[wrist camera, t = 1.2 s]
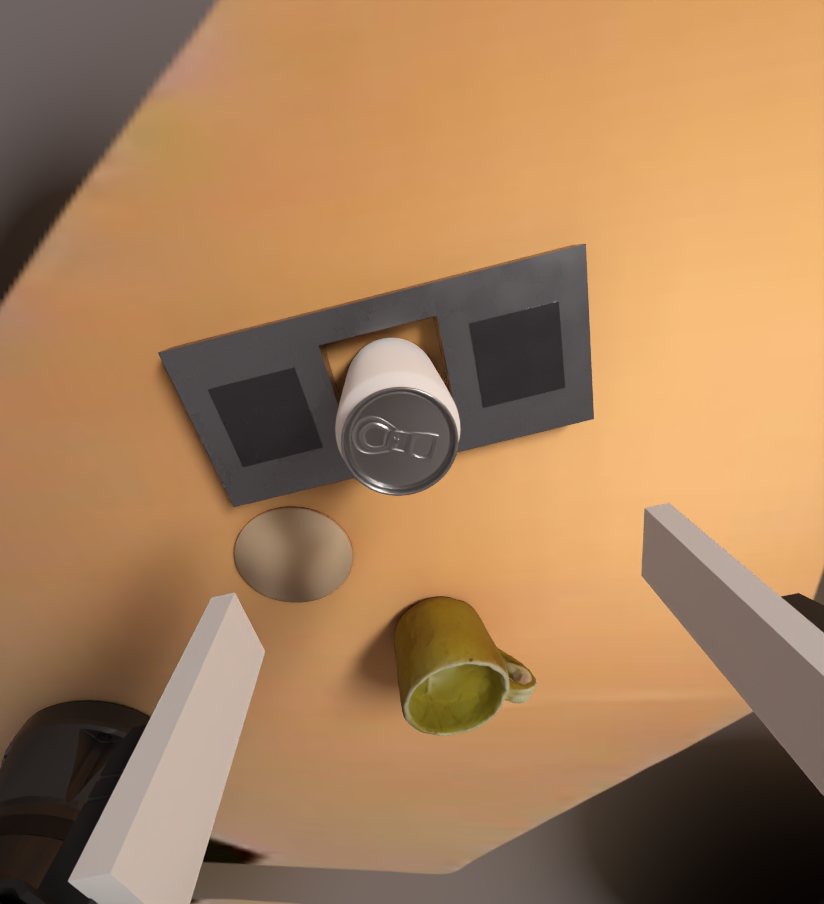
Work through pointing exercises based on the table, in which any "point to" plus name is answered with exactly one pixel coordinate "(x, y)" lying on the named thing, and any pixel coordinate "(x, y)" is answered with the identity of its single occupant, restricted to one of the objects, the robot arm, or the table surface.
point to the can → (396, 419)
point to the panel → (448, 299)
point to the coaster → (293, 554)
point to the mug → (453, 669)
